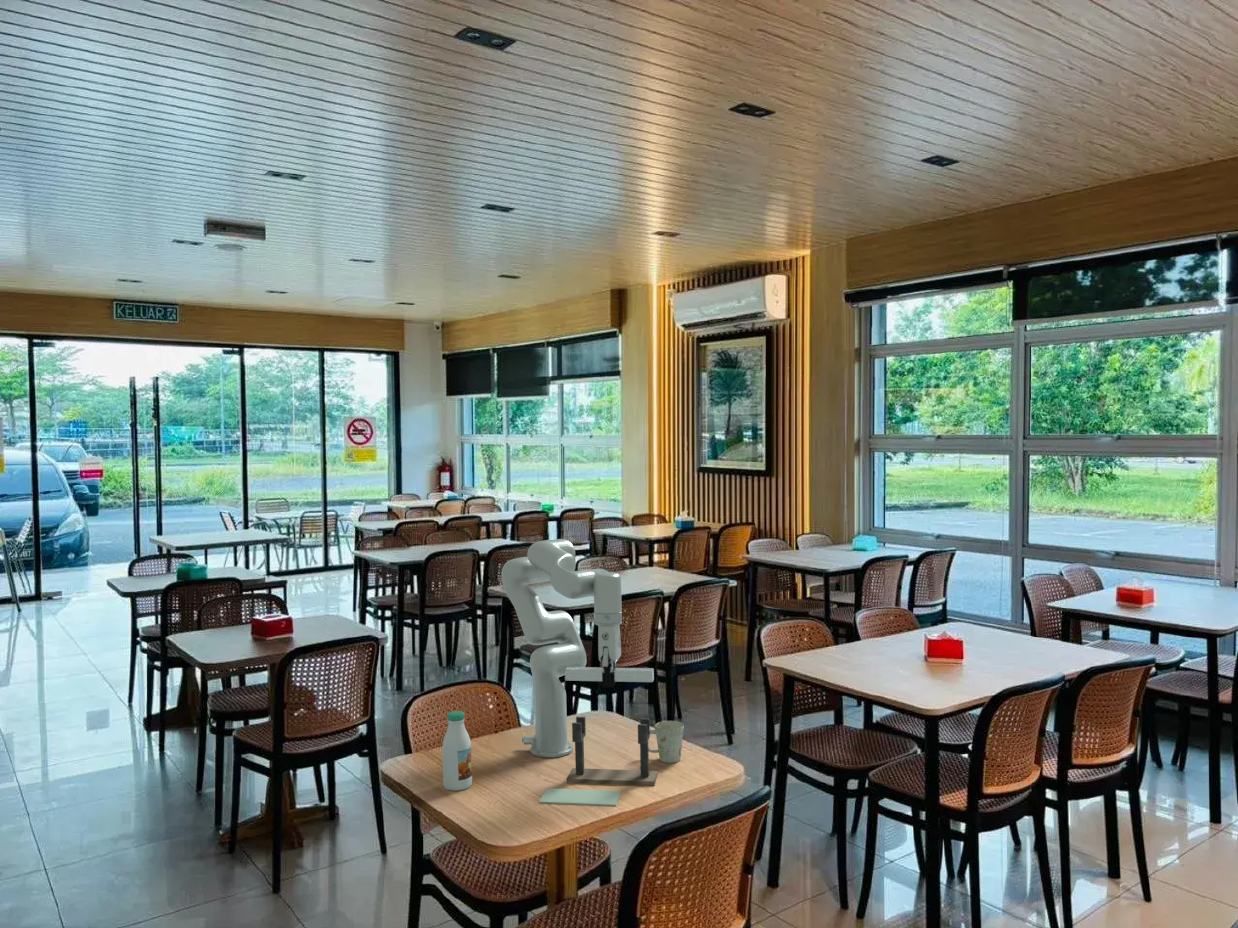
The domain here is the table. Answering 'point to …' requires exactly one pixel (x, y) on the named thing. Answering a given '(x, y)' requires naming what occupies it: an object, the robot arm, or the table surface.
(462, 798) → the table surface
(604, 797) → the mat
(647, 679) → the rail
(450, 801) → the table surface
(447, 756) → the milk bottle
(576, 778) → the hook stand
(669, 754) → the mug
